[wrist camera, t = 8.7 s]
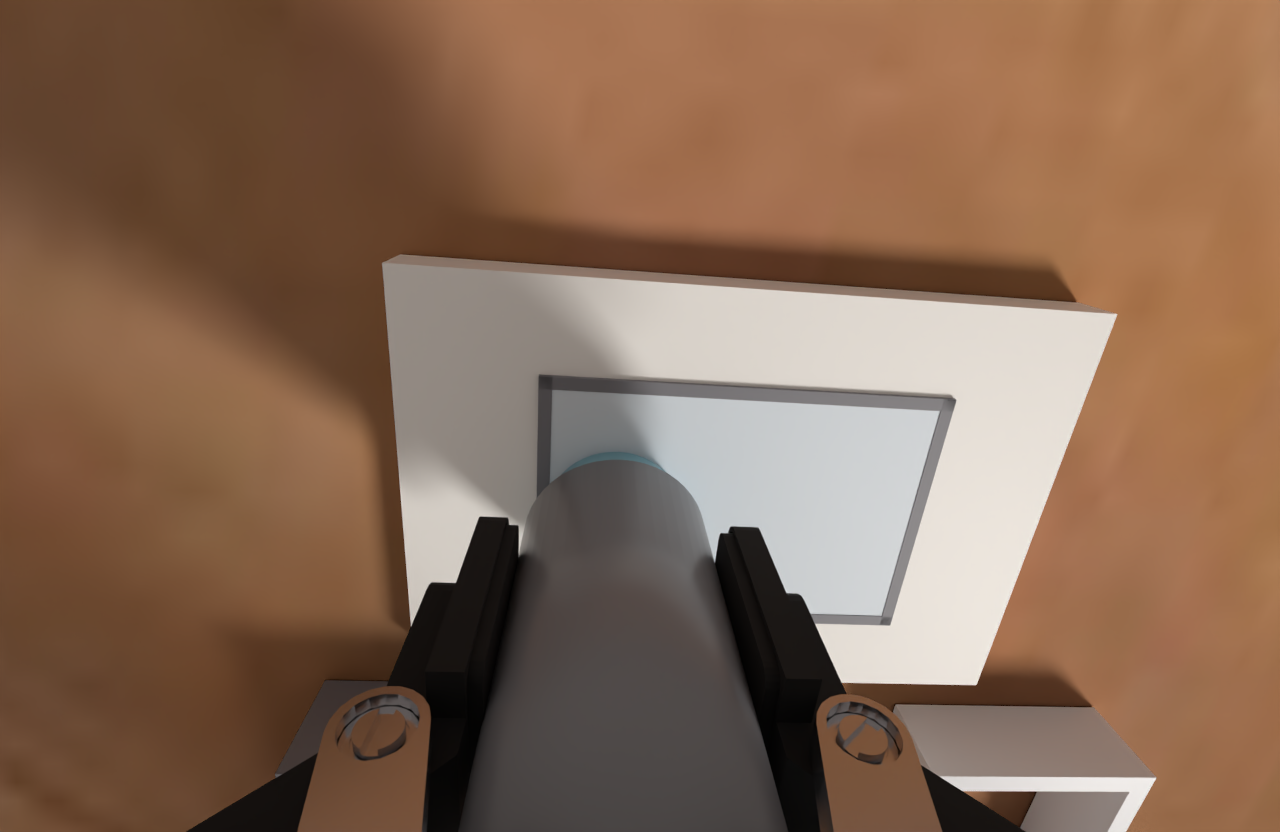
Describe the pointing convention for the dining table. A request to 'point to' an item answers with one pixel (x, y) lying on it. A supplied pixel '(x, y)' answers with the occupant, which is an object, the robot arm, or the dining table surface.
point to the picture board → (753, 430)
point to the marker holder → (1035, 761)
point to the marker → (619, 672)
